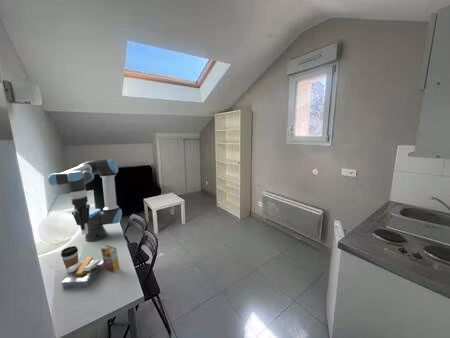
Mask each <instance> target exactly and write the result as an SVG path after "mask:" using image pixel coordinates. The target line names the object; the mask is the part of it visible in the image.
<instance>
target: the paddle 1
mask: <svg viewBox="0 0 450 338" xmlns="http://www.w3.org/2000/svg"><path fill="white" fill-rule="evenodd" d="M84 260H85V259H84ZM84 260H78V263H76V264H74V265H73V266H71V267H69V268H68V272H73V271H75V270H76V269H78V268H79V267H80V266H81V265H82V263H83V262H84Z"/></svg>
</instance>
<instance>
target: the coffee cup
mask: <svg viewBox="0 0 450 338" xmlns="http://www.w3.org/2000/svg"><path fill="white" fill-rule="evenodd" d="M60 252H61V254H60V257H62V262H63V264H64V266H65V269H66V270H65V271H66V272H67V274H71V273H72V272H68V268H69V267H71V266H73V265H74V264H76V263H78V262H79V253H78V252H79V249H78V247H77V246H73V245H72V246H68V247H66V248H64V249H62V250H61V251H60Z"/></svg>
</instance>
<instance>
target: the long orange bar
mask: <svg viewBox="0 0 450 338" xmlns="http://www.w3.org/2000/svg"><path fill="white" fill-rule="evenodd" d="M93 260H94V258H93V256H86V257H85V259H84V262H83V263H82V265H81V266H80V268H79V269H78V271H77V272H76V274H77V275H83V273H84V272H85V271H84V267H86V266H87V265H88V264H90V262H91V261H93Z"/></svg>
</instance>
